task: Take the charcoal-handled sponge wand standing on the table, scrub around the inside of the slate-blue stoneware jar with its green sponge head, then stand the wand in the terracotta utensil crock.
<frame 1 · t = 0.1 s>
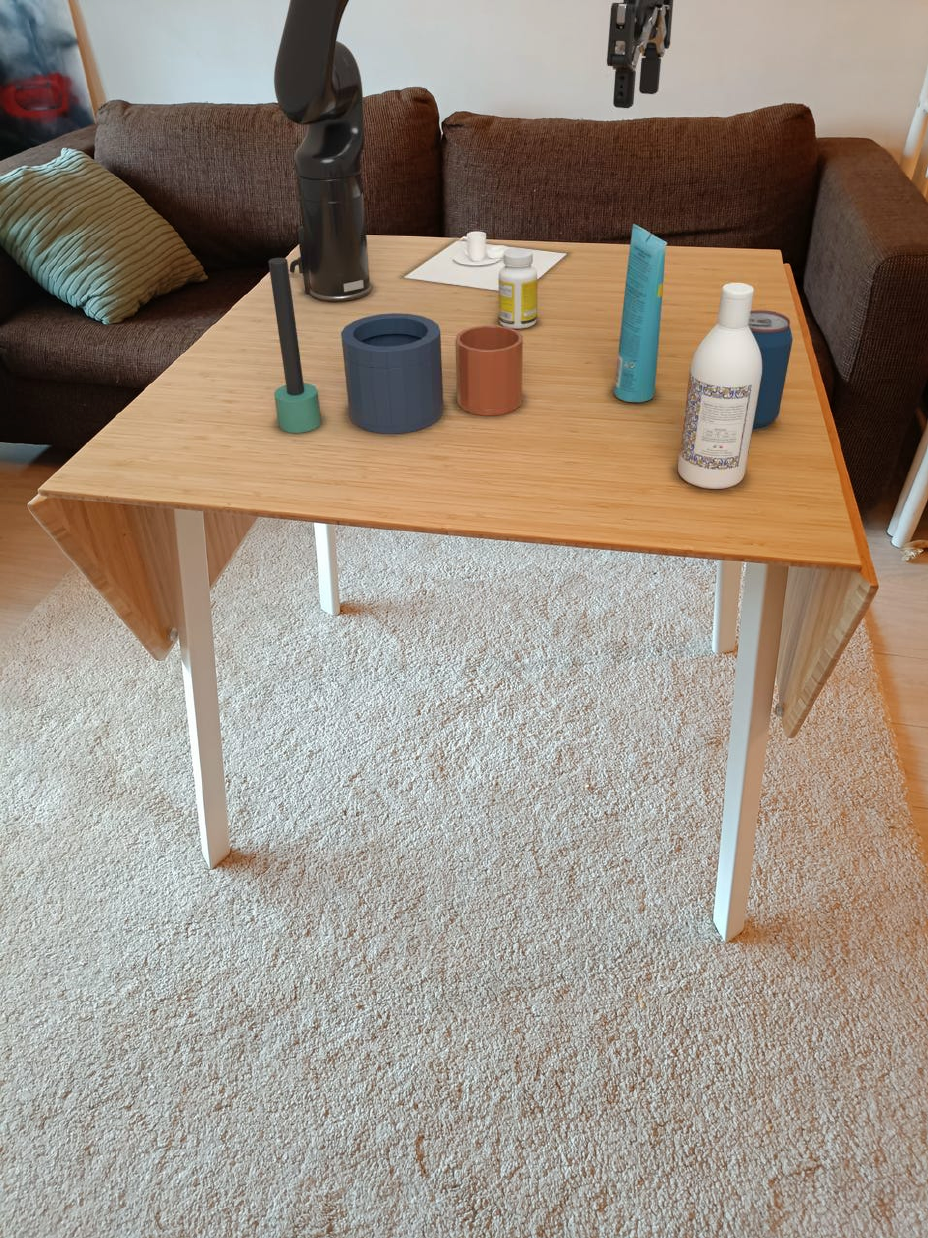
hand: (636, 99, 116), 29 cm above the table, tool pointing down, fingers open, 8 cm apart
sponge wand: (300, 423, 116), on the table
soda can: (745, 421, 115), on the table
teacup and saucer: (487, 266, 159), on the table
tube: (634, 396, 121), on the table
jar: (396, 412, 118), on the table
crock: (489, 401, 120), on the table
bath foam: (710, 476, 105), on the table
supplement bottle: (517, 323, 140), on the table
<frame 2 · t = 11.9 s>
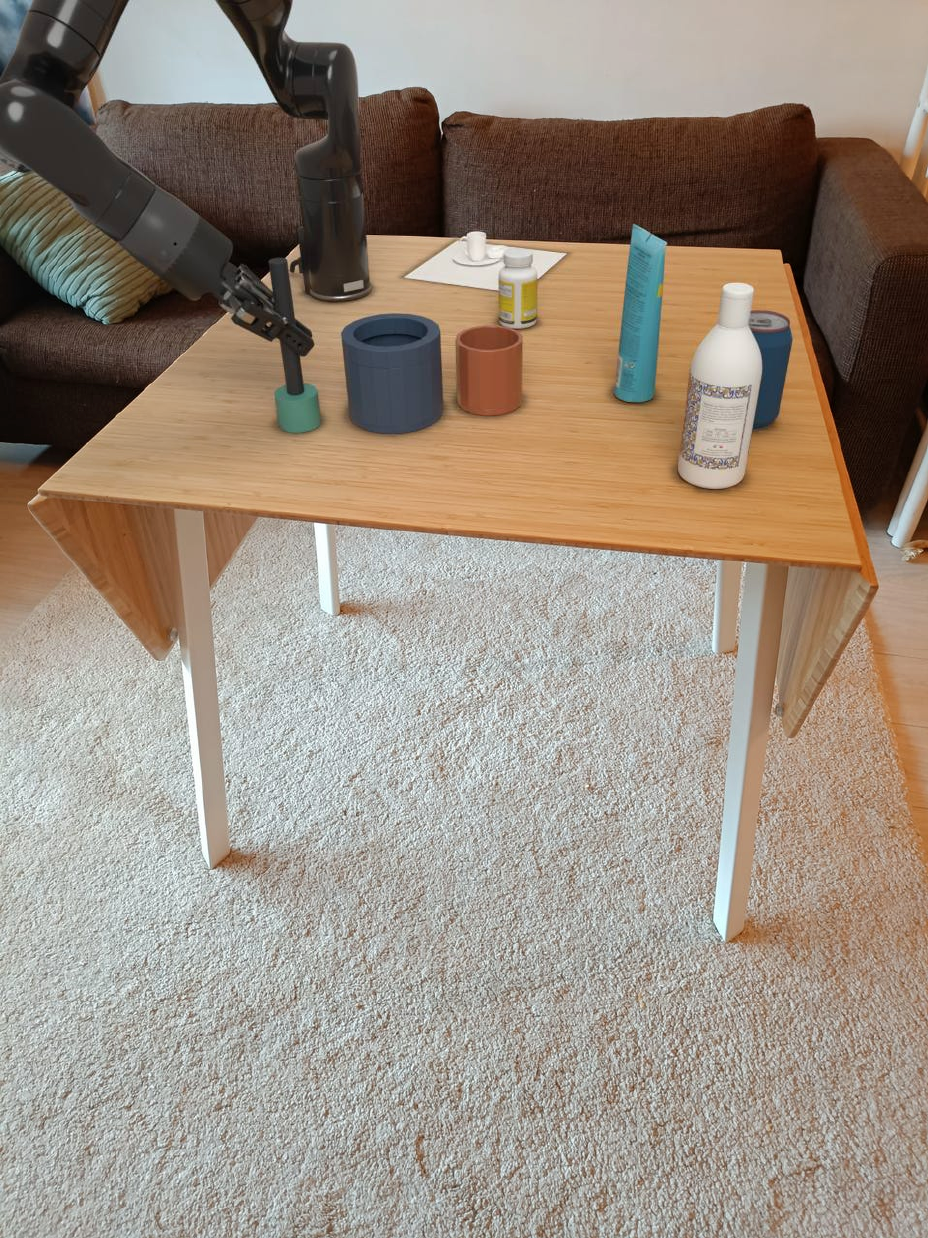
hand: (308, 344, 111), 9 cm above the table, tool tilted 45°, fingers closed on sponge wand
sponge wand: (300, 423, 116), on the table, touching gripper
everything else where it was.
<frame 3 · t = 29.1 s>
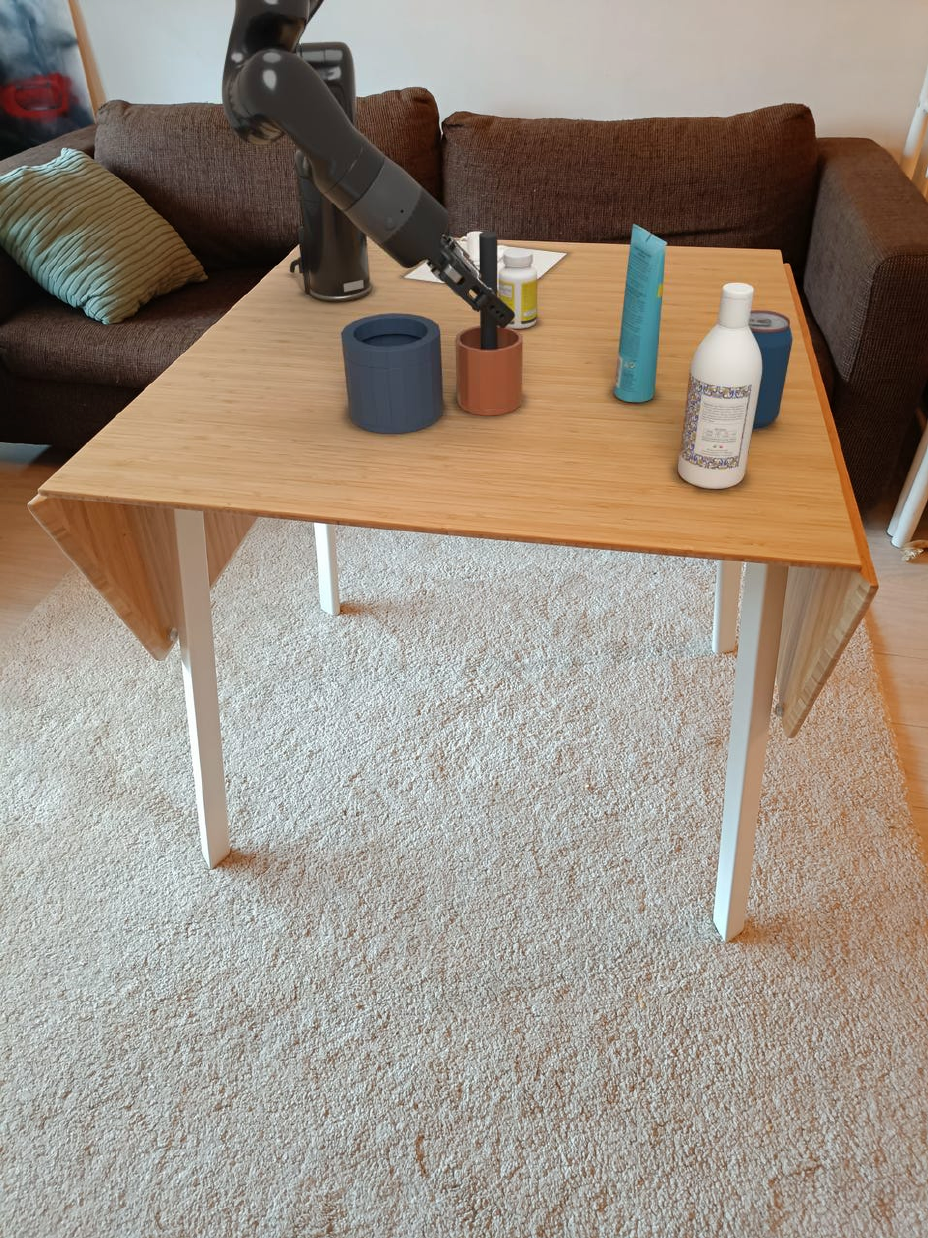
hand: (500, 307, 113), 11 cm above the table, tool tilted 45°, fingers open, 8 cm apart
sponge wand: (489, 395, 119), point 1 cm above the table, touching crock
everything else where it was.
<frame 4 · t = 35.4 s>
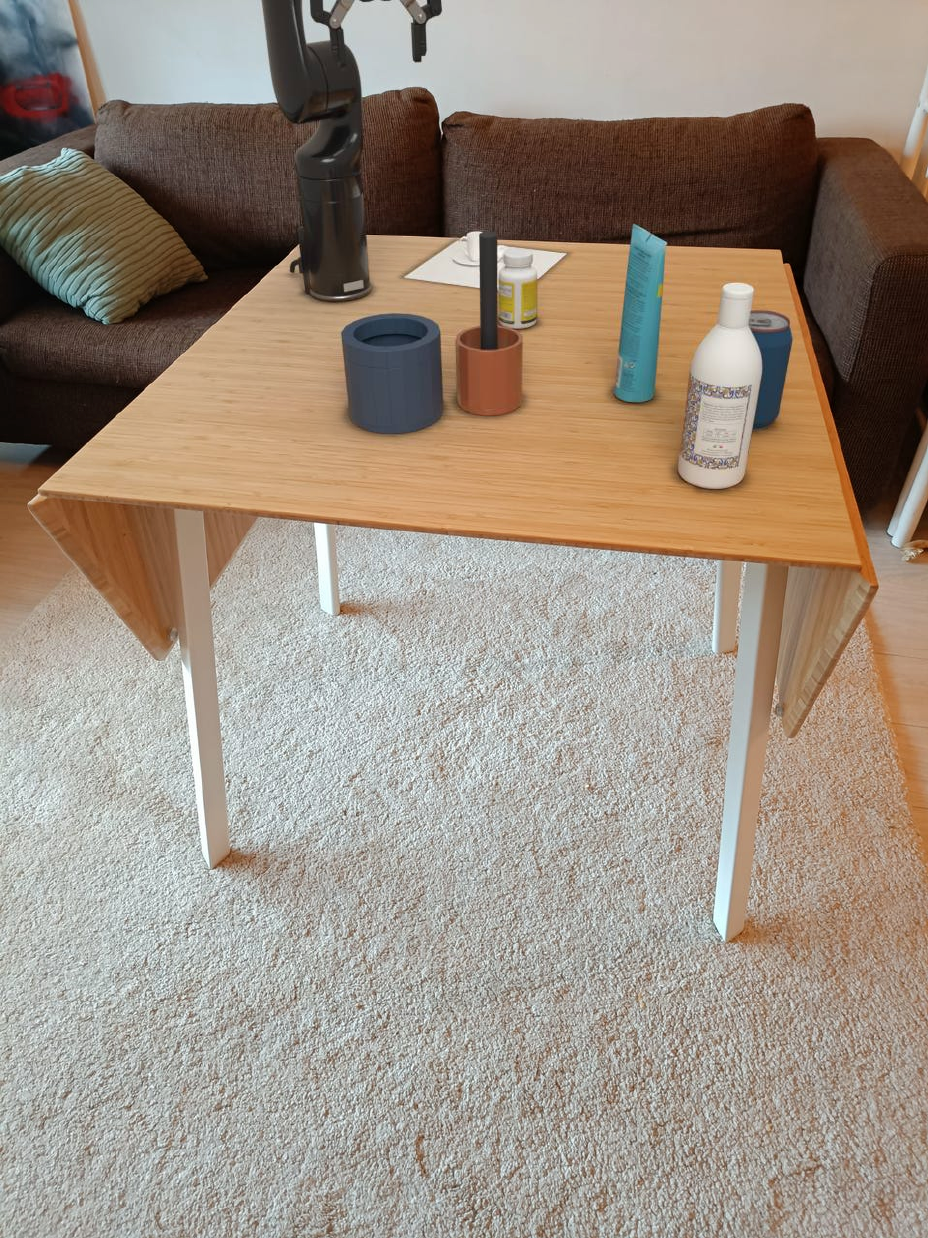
hand: (379, 63, 111), 34 cm above the table, tool pointing down, fingers open, 8 cm apart
nothing on the table moved.
at the end: sponge wand 0.1 cm off-centre in the crock, point 0.8 cm above the crock's base; sponge wand tilted 0°; jar moved 0.0 cm from its start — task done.
